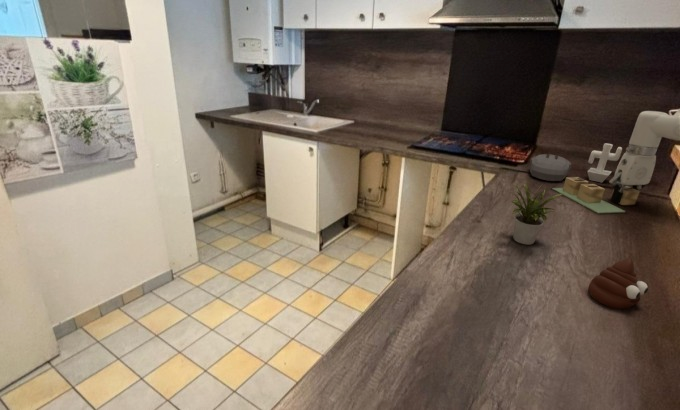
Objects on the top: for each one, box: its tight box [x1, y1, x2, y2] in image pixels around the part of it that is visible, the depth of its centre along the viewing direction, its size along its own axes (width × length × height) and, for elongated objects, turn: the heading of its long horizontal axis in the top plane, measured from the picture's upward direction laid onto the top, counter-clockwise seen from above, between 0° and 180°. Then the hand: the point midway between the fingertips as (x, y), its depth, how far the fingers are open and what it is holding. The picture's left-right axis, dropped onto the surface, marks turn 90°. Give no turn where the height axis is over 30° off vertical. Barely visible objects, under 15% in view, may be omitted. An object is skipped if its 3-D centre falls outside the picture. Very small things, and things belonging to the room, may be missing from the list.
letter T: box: [609, 185, 641, 206], centre depth 123 cm, size 5×5×5 cm
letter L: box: [562, 176, 589, 195], centre depth 130 cm, size 5×5×5 cm
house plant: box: [505, 180, 564, 246], centre depth 95 cm, size 14×14×16 cm
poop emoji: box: [588, 257, 649, 310], centre depth 73 cm, size 10×8×9 cm
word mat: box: [551, 187, 626, 215], centre depth 125 cm, size 10×22×1 cm, turn 8°
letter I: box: [577, 183, 606, 203], centre depth 123 cm, size 5×5×5 cm
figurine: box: [587, 143, 623, 184], centre depth 142 cm, size 7×9×15 cm
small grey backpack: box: [529, 153, 572, 182], centre depth 148 cm, size 15×8×20 cm
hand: (622, 200), depth 124 cm, fingers closed on letter T, 5 cm apart
